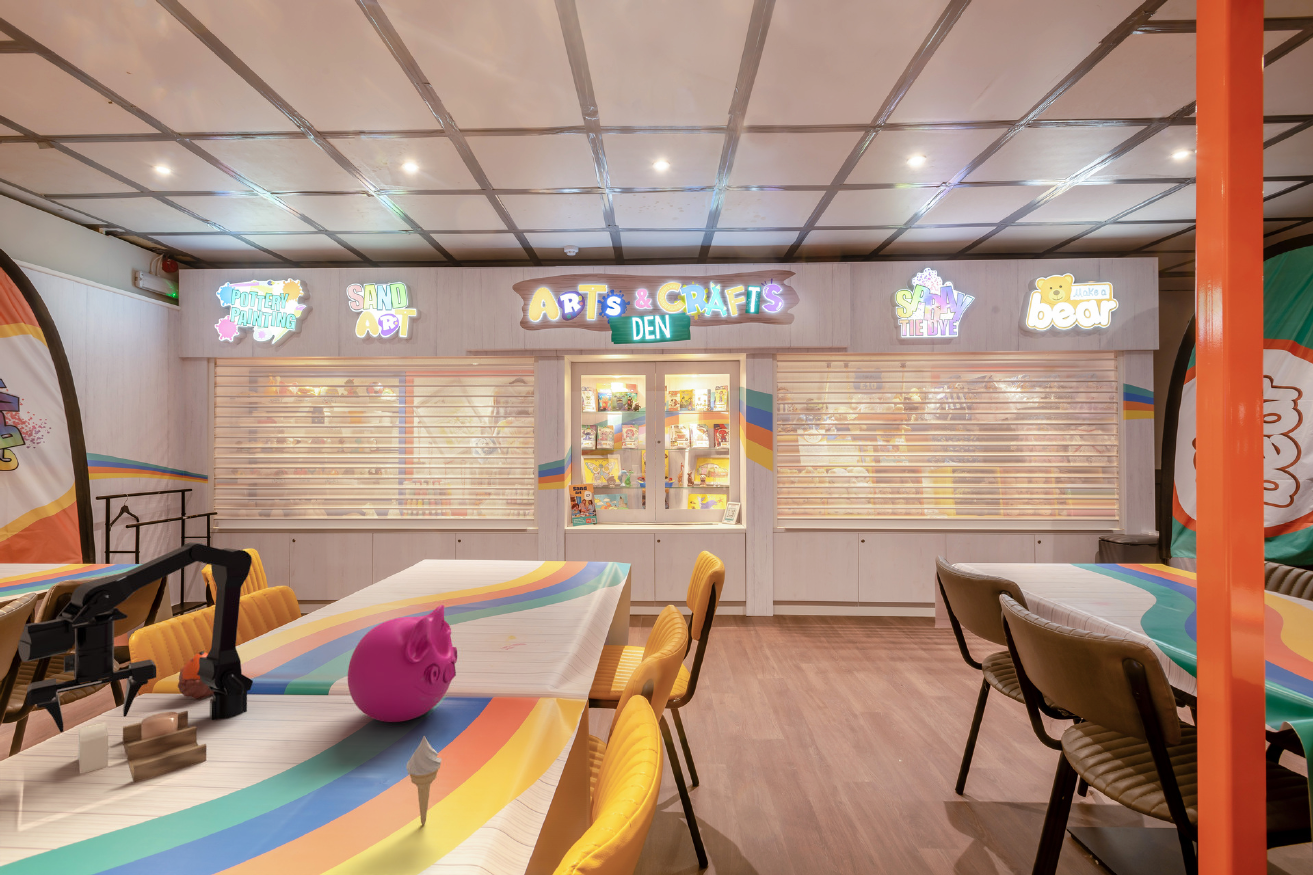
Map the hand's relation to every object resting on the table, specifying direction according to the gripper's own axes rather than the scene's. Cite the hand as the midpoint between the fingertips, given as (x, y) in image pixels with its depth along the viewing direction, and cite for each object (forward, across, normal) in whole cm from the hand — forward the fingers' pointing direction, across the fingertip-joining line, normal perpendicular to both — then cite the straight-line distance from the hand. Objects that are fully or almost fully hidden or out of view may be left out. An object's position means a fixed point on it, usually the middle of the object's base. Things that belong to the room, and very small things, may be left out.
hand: (94, 723), depth 120 cm
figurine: (+9, -53, +23) cm, 58 cm away
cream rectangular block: (+9, 0, 0) cm, 9 cm away
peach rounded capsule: (+8, -10, -1) cm, 13 cm away
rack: (+8, -10, +4) cm, 14 cm away
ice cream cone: (+9, -38, +66) cm, 77 cm away
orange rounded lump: (+9, -22, -26) cm, 35 cm away
